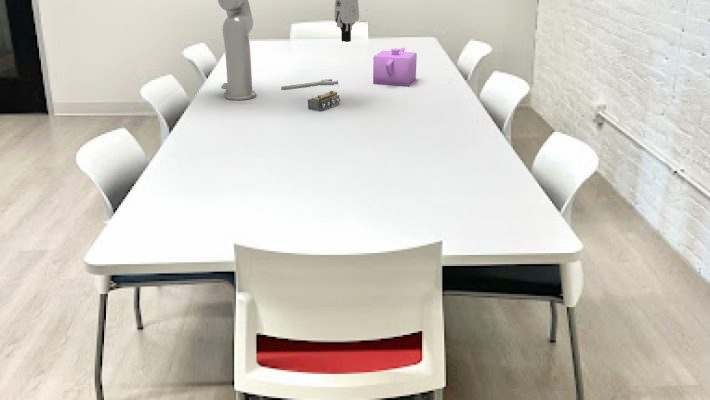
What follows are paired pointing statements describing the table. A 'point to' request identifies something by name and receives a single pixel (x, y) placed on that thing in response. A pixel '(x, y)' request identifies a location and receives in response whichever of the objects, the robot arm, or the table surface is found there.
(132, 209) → the table surface
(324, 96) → the master link
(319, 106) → the chain end dark
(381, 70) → the teapot
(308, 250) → the table surface
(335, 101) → the chain end grey
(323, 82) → the adjustable wrench
